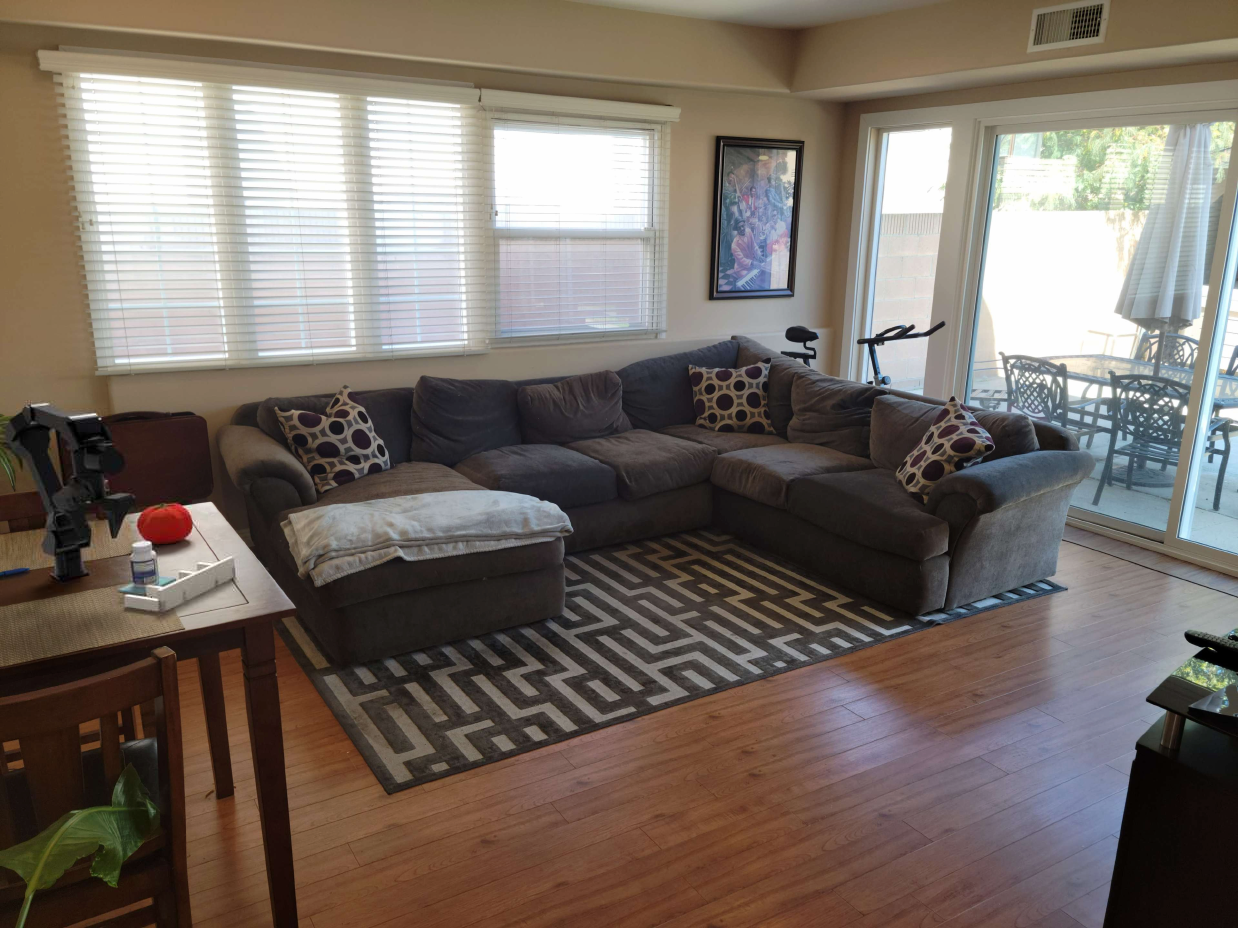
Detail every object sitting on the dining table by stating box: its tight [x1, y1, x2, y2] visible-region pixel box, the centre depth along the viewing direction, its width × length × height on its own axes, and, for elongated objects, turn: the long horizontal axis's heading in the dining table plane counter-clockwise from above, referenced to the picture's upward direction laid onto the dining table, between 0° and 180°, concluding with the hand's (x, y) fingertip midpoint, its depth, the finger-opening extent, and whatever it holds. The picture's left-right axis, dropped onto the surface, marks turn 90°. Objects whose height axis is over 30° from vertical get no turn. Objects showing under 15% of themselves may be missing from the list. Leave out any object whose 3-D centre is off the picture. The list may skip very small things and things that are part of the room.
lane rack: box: [123, 556, 236, 613], centre depth 204 cm, size 10×23×5 cm, turn 164°
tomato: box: [136, 502, 194, 545], centre depth 237 cm, size 13×12×11 cm
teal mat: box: [117, 575, 177, 596], centre depth 208 cm, size 7×10×1 cm
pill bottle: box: [129, 540, 160, 587], centre depth 206 cm, size 5×5×10 cm
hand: (97, 536), depth 204 cm, fingers open, 9 cm apart
